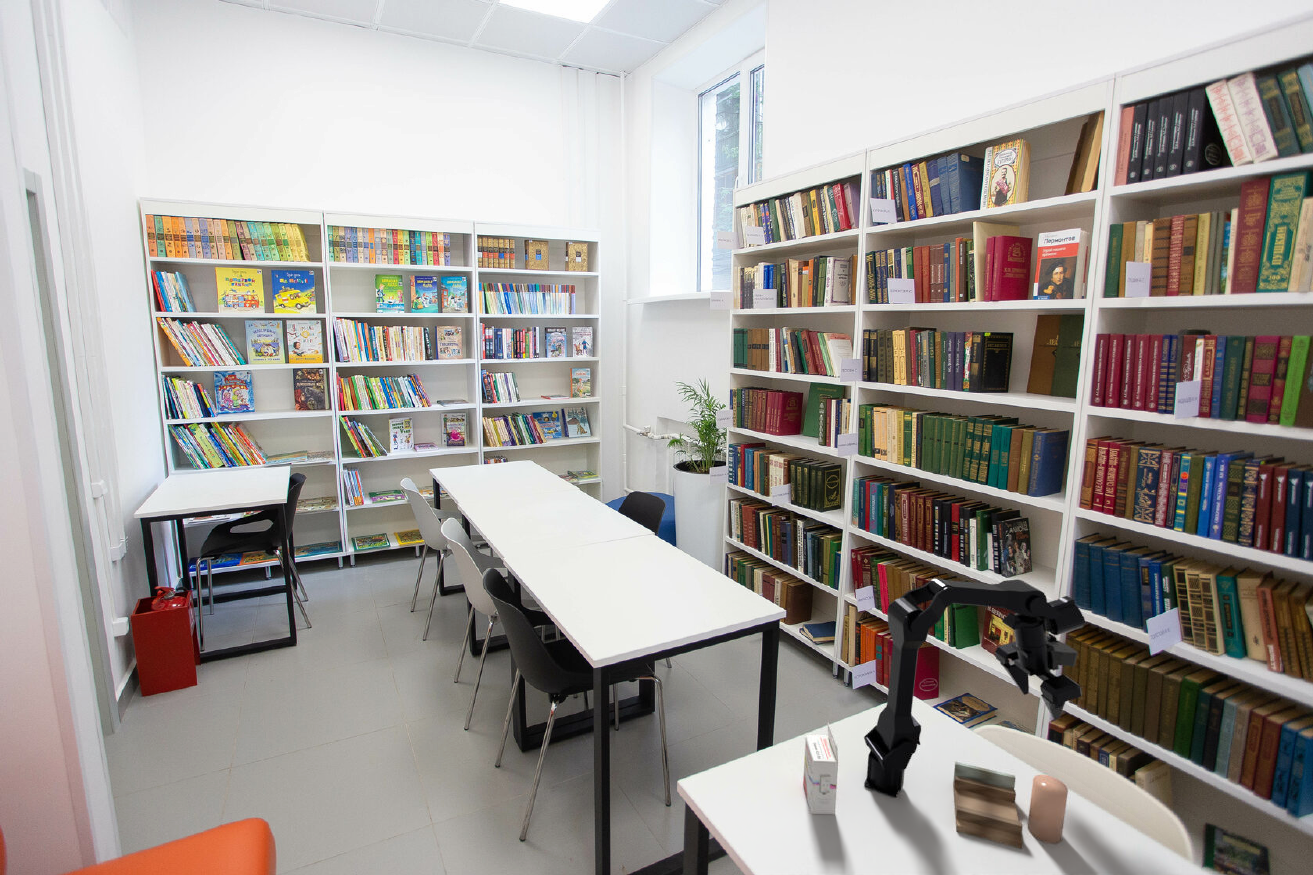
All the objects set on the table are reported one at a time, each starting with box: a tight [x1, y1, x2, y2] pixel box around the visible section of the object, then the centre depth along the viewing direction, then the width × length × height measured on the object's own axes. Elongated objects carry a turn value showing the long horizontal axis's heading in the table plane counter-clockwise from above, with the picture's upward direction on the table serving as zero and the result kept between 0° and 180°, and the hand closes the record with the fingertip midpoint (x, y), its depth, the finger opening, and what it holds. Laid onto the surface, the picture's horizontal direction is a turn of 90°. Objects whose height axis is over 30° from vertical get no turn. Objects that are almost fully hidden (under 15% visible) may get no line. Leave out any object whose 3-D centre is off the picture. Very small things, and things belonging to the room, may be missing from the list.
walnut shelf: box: [952, 761, 1024, 850], centre depth 127 cm, size 11×14×5 cm
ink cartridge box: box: [802, 722, 839, 815], centre depth 130 cm, size 9×5×15 cm, turn 179°
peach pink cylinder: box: [1027, 774, 1069, 845], centre depth 122 cm, size 6×6×10 cm
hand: (1040, 705), depth 138 cm, fingers open, 9 cm apart
